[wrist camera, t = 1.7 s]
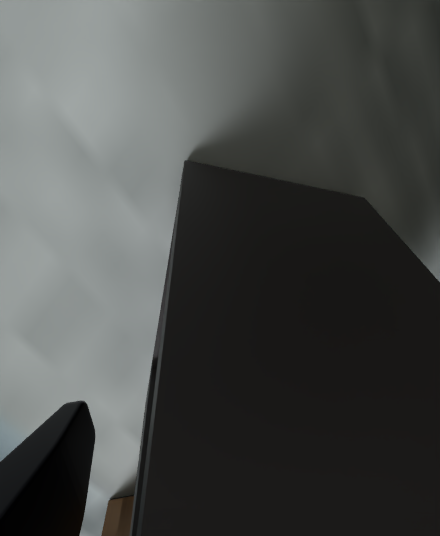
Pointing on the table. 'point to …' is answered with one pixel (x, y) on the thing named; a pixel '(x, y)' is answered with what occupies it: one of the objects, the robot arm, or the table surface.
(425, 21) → the table surface
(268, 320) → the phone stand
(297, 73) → the table surface
